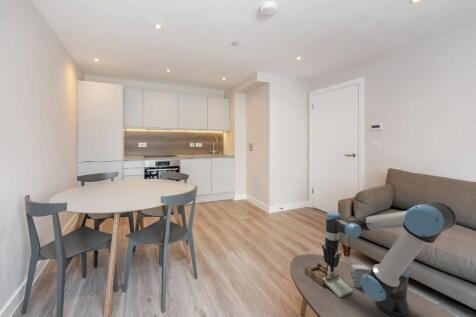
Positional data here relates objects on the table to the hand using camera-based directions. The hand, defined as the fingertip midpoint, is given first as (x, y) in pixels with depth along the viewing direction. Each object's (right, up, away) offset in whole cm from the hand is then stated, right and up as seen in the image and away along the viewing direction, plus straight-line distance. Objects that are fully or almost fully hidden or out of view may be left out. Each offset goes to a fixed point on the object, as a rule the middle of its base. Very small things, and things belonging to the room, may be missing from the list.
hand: (330, 275), depth 134 cm
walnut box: (-3, -4, +6) cm, 8 cm away
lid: (+2, -4, -4) cm, 6 cm away
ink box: (+17, -6, -1) cm, 18 cm away
